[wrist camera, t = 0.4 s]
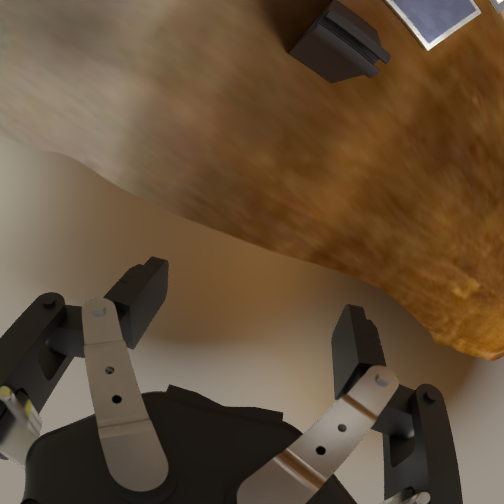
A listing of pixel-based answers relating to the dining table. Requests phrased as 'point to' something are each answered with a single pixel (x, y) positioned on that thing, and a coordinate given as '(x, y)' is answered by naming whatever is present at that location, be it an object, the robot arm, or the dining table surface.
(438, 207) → the dining table surface
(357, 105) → the dining table surface
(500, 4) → the marked card
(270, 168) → the dining table surface
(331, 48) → the phone stand
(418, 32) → the ink pad
